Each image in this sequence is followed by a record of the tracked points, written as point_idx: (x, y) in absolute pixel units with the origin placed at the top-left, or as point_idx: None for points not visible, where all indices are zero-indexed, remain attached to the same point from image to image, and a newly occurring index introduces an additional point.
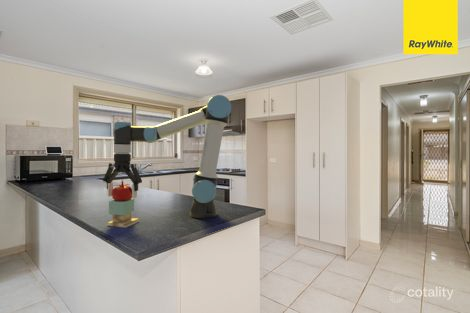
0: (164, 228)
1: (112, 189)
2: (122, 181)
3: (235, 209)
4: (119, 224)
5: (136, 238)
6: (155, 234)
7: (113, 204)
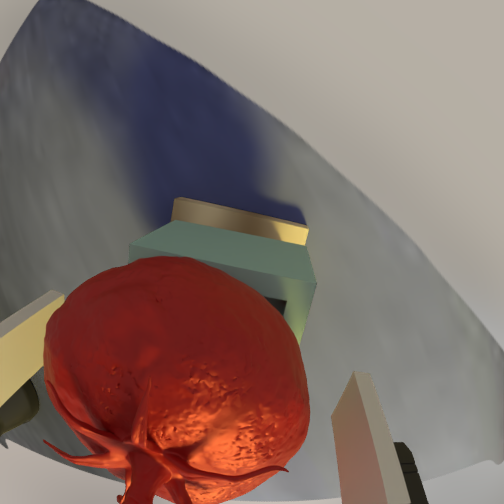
0: (23, 207)
1: (342, 462)
2: None
3: None
4: (219, 207)
5: (75, 64)
6: (29, 127)
7: (258, 261)
